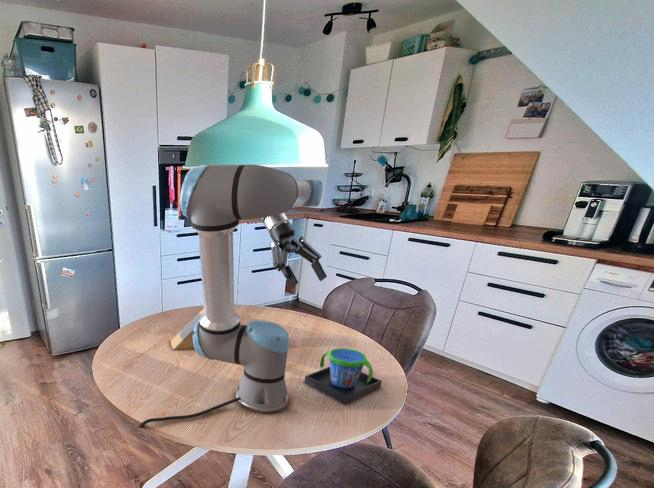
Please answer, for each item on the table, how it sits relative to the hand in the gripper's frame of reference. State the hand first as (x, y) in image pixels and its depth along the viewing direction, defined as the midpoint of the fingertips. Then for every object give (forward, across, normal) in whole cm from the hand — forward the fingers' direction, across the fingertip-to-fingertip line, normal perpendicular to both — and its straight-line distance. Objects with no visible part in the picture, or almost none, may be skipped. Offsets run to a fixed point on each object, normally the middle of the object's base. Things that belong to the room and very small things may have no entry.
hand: (309, 281), depth 124 cm
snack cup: (+33, 0, -8) cm, 34 cm away
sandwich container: (-4, +22, -46) cm, 51 cm away
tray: (+34, 0, -8) cm, 35 cm away
